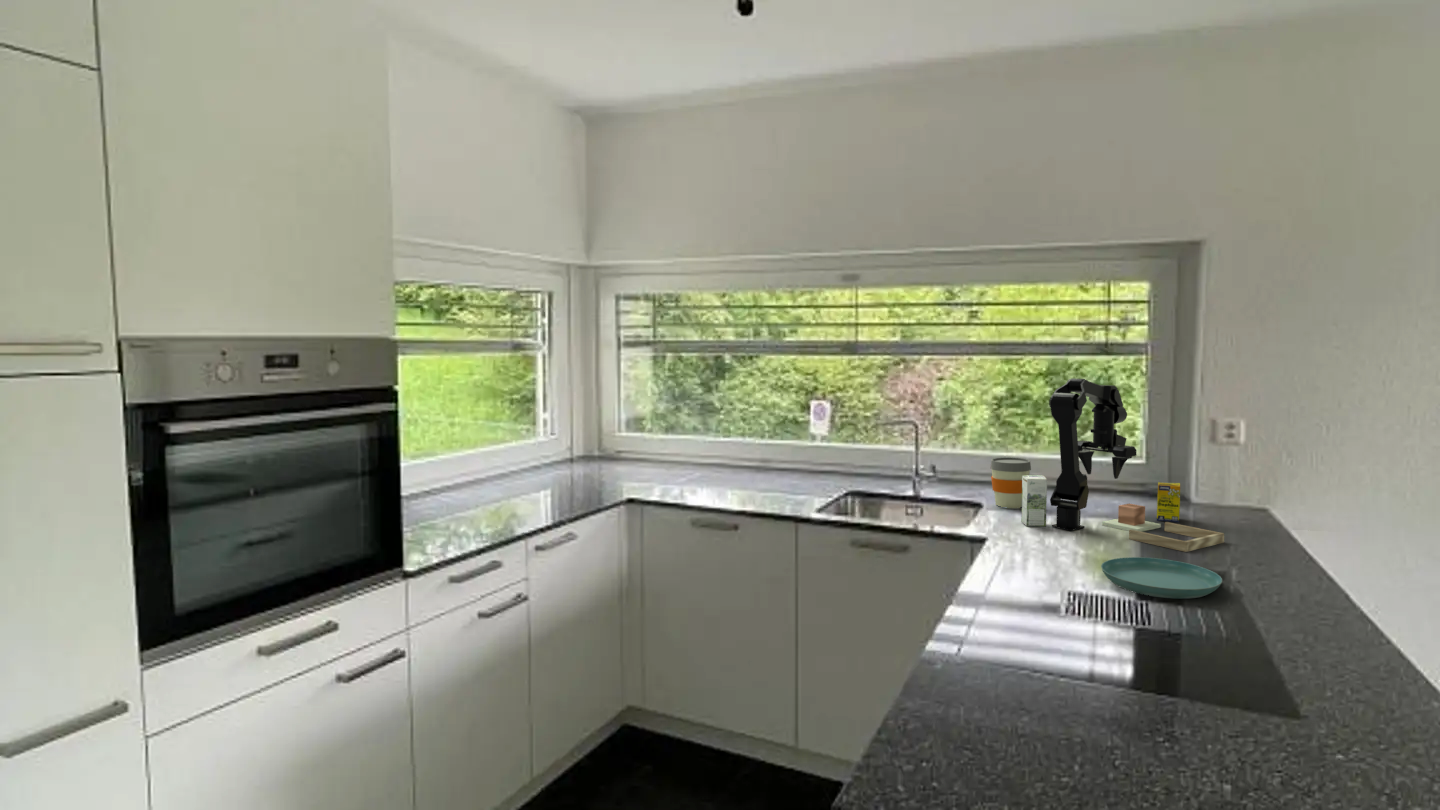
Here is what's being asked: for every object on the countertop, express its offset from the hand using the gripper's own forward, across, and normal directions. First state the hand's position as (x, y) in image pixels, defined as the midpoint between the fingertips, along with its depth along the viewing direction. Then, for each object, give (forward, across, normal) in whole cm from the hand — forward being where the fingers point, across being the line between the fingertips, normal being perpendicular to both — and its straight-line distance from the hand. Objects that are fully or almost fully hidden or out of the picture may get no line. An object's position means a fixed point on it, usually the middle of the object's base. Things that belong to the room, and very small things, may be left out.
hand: (1102, 476), depth 256 cm
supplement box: (+12, -15, -10) cm, 22 cm away
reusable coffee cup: (+12, +25, +12) cm, 30 cm away
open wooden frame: (+12, -30, +11) cm, 34 cm away
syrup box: (+12, +3, +27) cm, 30 cm away
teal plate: (+13, -51, +50) cm, 72 cm away
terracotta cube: (+11, -14, +6) cm, 19 cm away
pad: (+12, -14, +6) cm, 19 cm away
